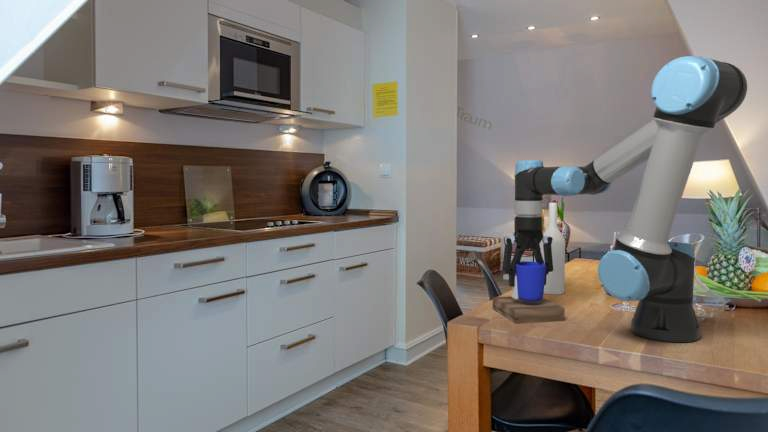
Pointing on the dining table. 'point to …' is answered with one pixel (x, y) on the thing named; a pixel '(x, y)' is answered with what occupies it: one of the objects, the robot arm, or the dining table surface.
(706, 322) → the dining table surface
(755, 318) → the dining table surface
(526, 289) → the mug
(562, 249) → the bottle
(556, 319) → the board
